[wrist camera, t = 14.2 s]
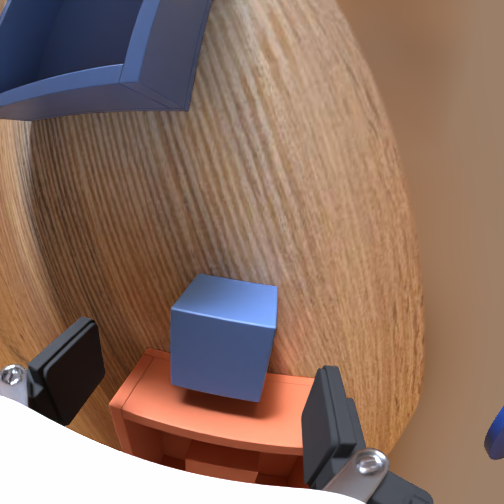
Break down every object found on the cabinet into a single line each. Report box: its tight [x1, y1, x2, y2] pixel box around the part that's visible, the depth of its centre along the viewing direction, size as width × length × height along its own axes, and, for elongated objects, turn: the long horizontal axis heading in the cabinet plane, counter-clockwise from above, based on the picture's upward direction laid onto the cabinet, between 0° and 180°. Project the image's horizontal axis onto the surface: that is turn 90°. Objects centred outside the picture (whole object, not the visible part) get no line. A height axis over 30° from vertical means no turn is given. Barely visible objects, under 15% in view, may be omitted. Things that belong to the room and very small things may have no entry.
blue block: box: [170, 274, 278, 402], centre depth 14 cm, size 4×4×4 cm
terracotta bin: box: [109, 348, 314, 489], centre depth 16 cm, size 13×13×6 cm
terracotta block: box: [185, 439, 261, 484], centre depth 16 cm, size 4×4×4 cm
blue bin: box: [0, 0, 212, 121], centre depth 9 cm, size 13×13×6 cm
